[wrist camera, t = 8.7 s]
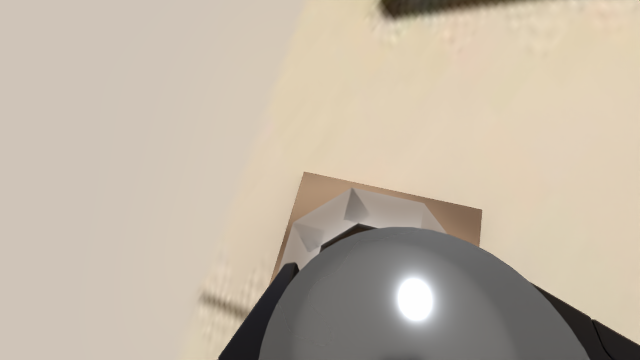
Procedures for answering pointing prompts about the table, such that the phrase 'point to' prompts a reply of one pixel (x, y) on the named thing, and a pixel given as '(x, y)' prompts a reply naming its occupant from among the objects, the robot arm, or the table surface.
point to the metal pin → (414, 305)
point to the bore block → (363, 216)
